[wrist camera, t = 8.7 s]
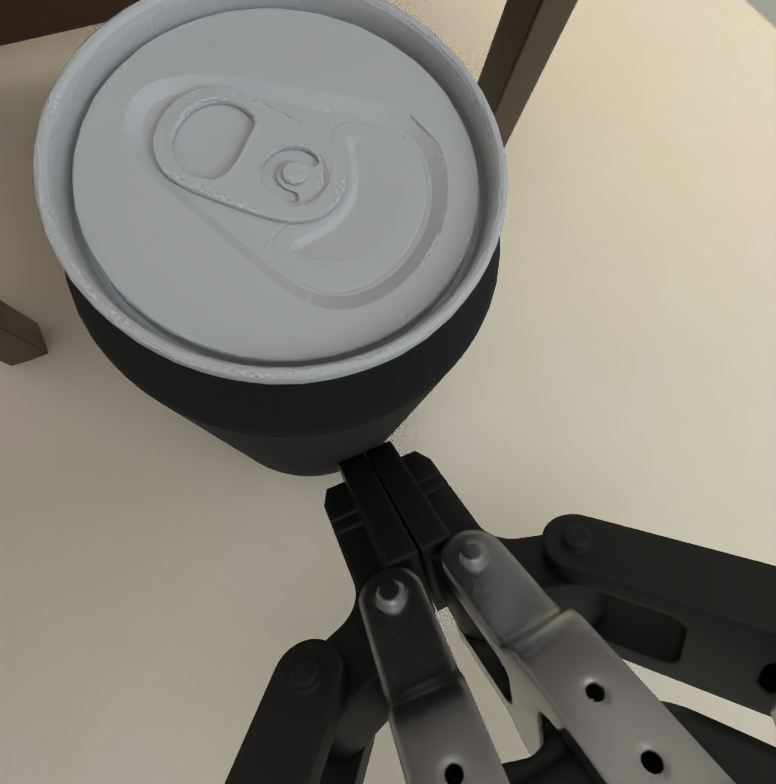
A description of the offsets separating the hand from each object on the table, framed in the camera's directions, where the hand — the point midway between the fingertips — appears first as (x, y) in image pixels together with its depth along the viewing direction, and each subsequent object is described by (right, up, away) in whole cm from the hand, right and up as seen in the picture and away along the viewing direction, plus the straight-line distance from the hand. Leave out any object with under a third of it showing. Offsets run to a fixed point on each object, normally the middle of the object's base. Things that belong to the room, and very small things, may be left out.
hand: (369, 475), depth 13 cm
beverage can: (-2, +2, +5) cm, 6 cm away
